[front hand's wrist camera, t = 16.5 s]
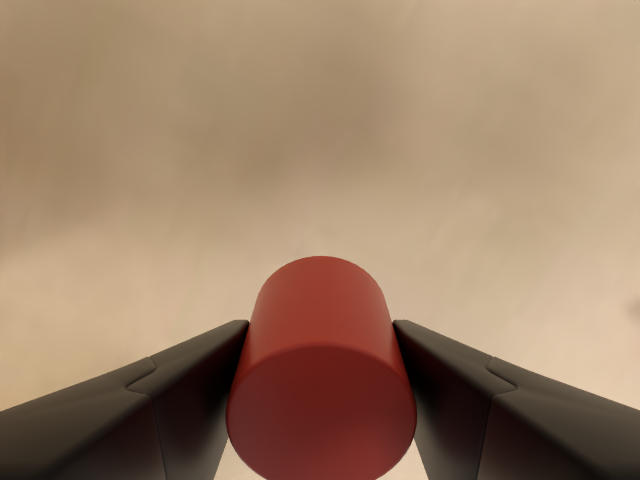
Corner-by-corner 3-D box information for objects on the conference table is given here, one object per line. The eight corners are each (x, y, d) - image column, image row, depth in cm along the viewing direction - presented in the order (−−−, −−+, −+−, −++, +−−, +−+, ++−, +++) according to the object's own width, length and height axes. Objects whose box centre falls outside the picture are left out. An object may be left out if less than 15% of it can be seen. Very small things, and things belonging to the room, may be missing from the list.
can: (335, 228, 11) (344, 306, 7) (411, 327, 13) (454, 441, 9) (227, 303, 12) (183, 409, 8) (307, 389, 13) (302, 519, 9)
